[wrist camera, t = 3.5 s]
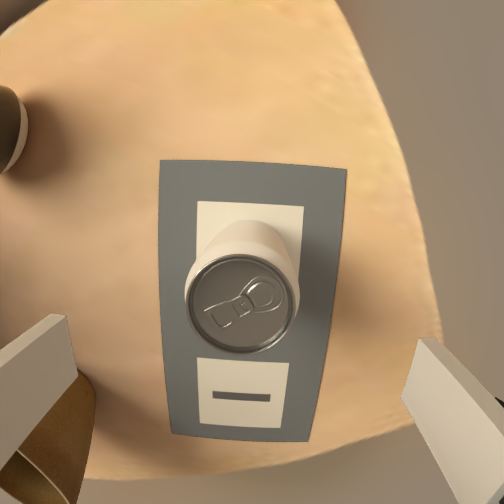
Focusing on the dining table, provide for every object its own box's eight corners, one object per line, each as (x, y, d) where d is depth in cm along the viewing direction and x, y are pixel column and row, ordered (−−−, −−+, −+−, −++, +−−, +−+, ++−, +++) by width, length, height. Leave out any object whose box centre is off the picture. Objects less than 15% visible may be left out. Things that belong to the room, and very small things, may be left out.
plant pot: (9, 340, 31) (-69, 401, 15) (91, 327, 30) (2, 416, 14) (58, 430, 34) (7, 503, 18) (143, 433, 33) (102, 533, 17)
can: (298, 269, 28) (325, 329, 16) (234, 303, 29) (219, 379, 17) (262, 204, 27) (264, 220, 15) (196, 242, 28) (153, 284, 16)
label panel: (171, 432, 33) (171, 433, 32) (160, 160, 26) (159, 160, 26) (307, 441, 32) (307, 442, 32) (345, 169, 26) (346, 169, 26)
